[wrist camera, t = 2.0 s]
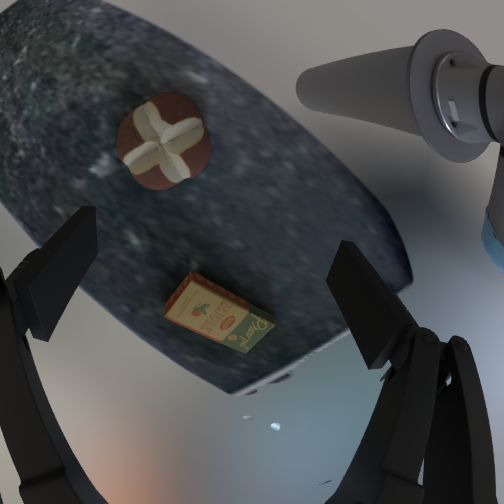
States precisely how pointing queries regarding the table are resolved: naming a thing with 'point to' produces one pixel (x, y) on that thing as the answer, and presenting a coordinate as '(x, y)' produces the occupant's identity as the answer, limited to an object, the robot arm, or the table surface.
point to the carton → (217, 313)
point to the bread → (163, 141)
